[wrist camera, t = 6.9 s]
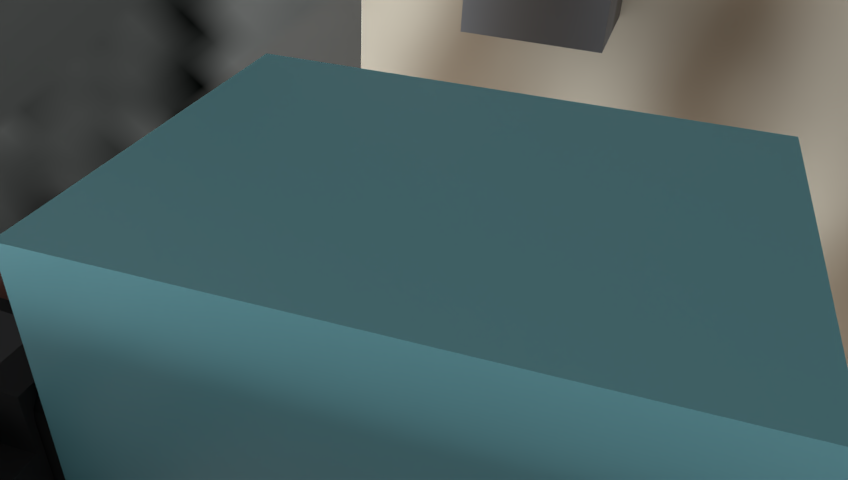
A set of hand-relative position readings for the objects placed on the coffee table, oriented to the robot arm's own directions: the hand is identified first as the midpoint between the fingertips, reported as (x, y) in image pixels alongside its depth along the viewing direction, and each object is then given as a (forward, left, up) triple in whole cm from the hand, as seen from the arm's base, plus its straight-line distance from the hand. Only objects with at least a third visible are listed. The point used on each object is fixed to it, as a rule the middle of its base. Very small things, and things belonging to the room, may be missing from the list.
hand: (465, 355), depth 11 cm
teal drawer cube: (0, 0, -1) cm, 1 cm away
